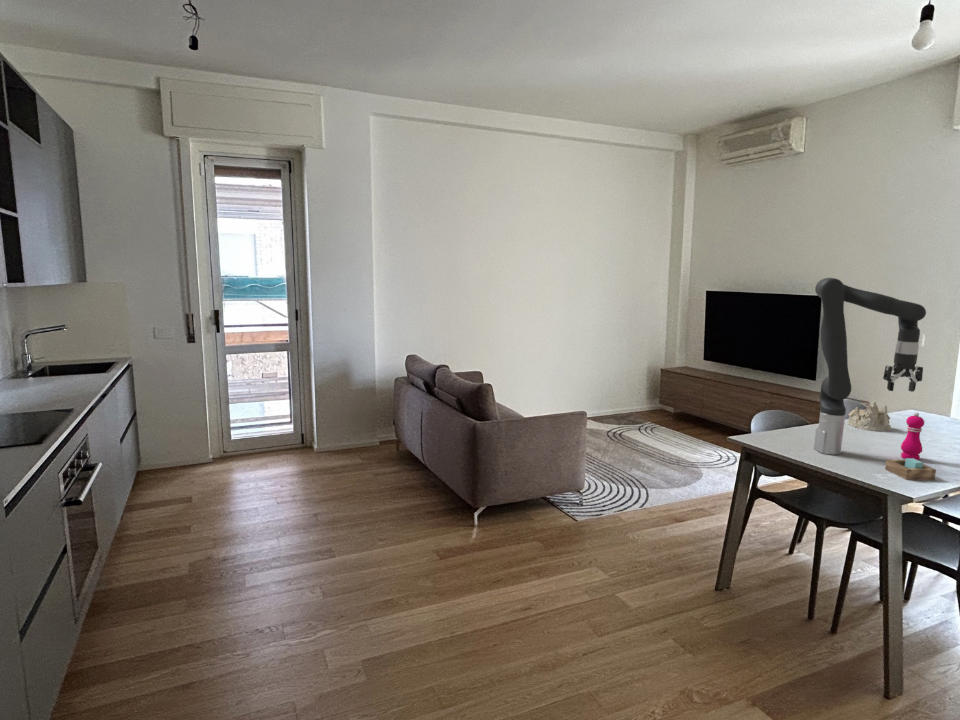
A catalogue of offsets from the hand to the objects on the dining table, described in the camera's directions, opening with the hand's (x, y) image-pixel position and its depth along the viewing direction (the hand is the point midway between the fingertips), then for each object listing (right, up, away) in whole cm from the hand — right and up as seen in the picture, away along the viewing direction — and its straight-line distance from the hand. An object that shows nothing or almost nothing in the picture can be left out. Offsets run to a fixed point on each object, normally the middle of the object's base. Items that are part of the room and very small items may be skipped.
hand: (900, 391), depth 234 cm
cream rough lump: (+23, -21, +52) cm, 61 cm away
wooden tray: (-7, -32, -14) cm, 35 cm away
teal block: (-7, -31, -15) cm, 35 cm away
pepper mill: (+8, -29, +5) cm, 30 cm away
